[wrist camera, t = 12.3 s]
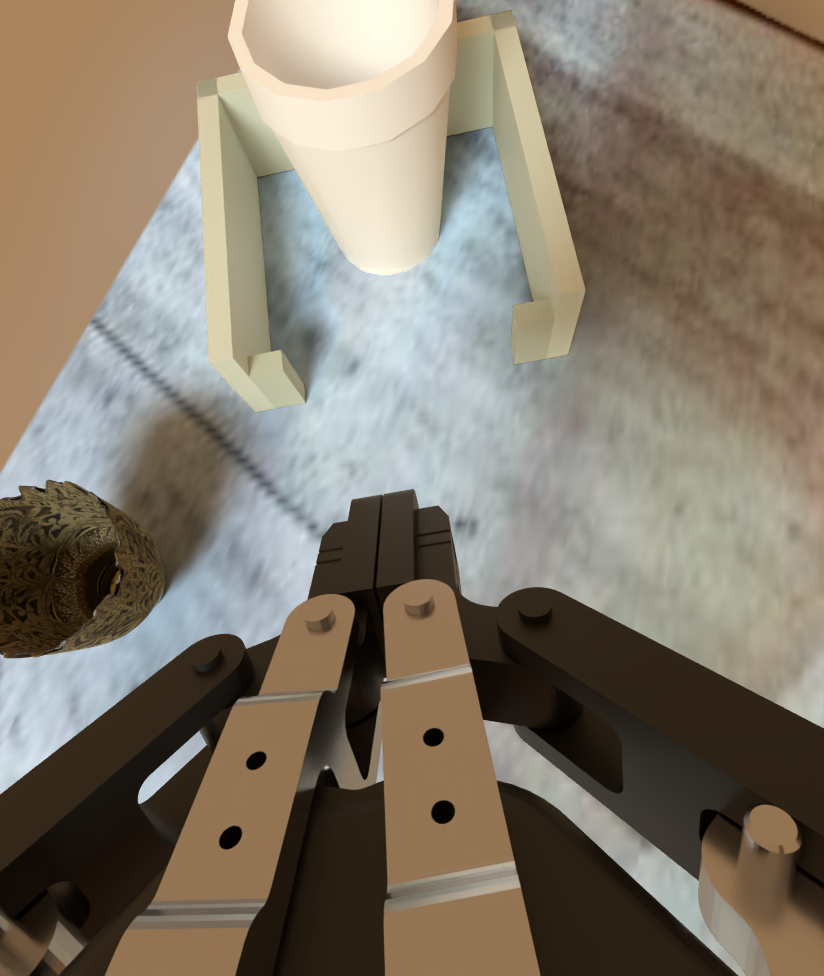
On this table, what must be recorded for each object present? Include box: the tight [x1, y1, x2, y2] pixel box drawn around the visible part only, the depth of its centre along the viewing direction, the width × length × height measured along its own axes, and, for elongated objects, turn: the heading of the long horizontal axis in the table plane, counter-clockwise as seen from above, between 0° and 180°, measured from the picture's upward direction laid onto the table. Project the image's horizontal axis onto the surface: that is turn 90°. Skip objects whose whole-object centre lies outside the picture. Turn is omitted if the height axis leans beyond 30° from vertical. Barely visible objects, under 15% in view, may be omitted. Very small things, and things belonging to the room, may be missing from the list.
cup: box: [0, 480, 165, 658], centre depth 28 cm, size 8×7×8 cm
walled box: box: [197, 10, 586, 412], centre depth 33 cm, size 18×18×6 cm
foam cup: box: [228, 0, 458, 276], centre depth 30 cm, size 10×9×13 cm
